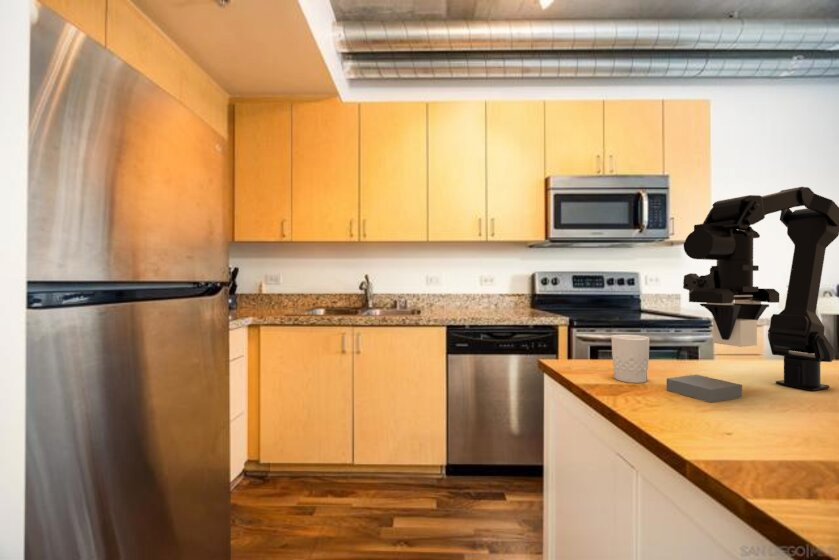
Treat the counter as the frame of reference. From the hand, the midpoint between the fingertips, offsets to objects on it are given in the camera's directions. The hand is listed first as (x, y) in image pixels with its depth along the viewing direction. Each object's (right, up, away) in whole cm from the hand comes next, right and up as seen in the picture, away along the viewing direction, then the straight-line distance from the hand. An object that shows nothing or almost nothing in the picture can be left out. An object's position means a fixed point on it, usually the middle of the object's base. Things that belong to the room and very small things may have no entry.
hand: (734, 338), depth 79 cm
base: (-5, -12, +2) cm, 13 cm away
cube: (0, -1, 0) cm, 1 cm away
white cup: (-13, -12, +14) cm, 22 cm away
